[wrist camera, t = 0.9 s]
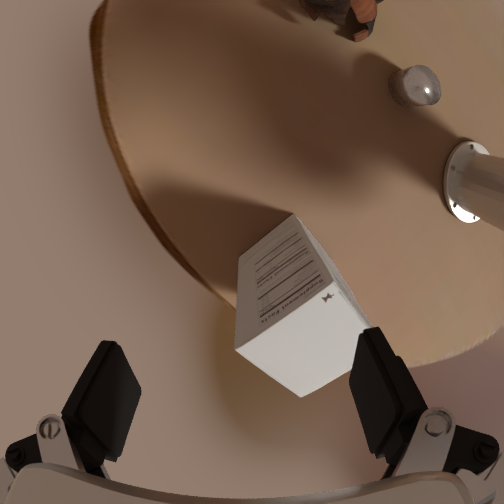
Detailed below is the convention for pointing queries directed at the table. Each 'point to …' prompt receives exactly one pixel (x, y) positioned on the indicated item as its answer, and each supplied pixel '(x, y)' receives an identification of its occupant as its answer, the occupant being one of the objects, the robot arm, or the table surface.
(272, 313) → the supplement box
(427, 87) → the grey tin
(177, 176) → the table surface
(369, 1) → the pottery mug
